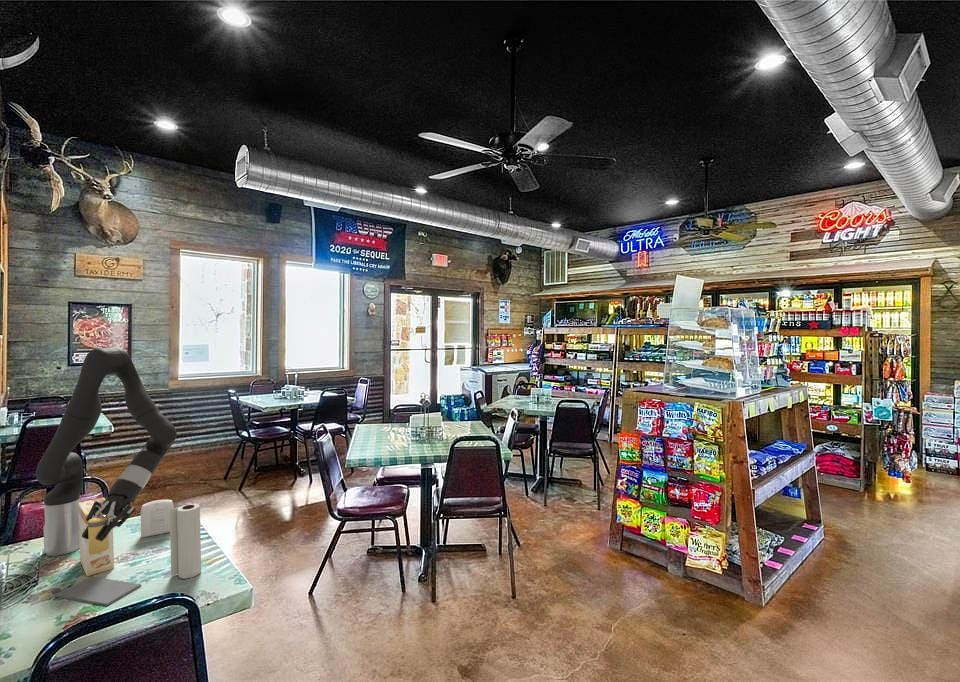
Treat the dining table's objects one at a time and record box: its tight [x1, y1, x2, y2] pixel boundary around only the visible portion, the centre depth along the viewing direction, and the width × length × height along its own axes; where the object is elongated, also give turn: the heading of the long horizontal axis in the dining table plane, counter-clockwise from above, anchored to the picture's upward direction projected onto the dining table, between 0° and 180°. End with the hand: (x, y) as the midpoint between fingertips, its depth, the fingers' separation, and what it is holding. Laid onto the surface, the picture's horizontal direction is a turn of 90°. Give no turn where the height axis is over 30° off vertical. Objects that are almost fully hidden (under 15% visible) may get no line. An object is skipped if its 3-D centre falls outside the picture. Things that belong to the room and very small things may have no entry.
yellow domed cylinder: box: [88, 516, 109, 554], centre depth 136 cm, size 5×5×9 cm
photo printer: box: [140, 499, 175, 538], centre depth 174 cm, size 10×4×12 cm, turn 123°
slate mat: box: [54, 575, 142, 607], centre depth 136 cm, size 19×10×1 cm, turn 77°
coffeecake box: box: [78, 497, 115, 577], centre depth 152 cm, size 15×7×20 cm, turn 47°
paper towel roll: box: [169, 503, 202, 580], centre depth 146 cm, size 7×6×21 cm
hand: (91, 538), depth 134 cm, fingers closed on yellow domed cylinder, 4 cm apart
